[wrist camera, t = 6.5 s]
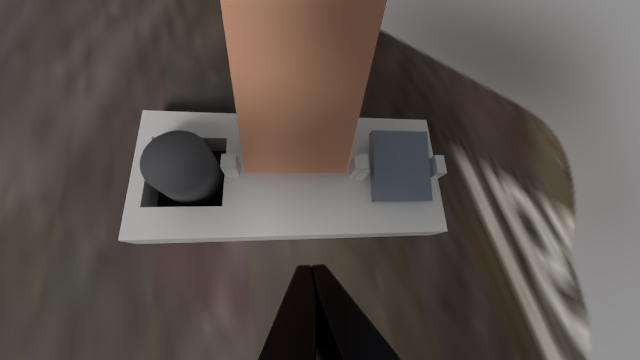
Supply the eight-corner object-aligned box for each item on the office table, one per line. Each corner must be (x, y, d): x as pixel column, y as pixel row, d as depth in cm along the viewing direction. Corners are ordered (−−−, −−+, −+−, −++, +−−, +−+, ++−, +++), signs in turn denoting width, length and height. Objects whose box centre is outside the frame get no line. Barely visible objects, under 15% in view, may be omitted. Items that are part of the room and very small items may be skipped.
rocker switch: (425, 201, 17) (432, 200, 16) (371, 202, 17) (376, 201, 16) (420, 135, 18) (427, 131, 17) (368, 134, 17) (372, 130, 17)
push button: (220, 205, 17) (208, 191, 14) (159, 205, 16) (134, 192, 14) (224, 153, 18) (213, 131, 15) (167, 152, 18) (145, 129, 15)
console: (431, 235, 19) (464, 227, 15) (137, 244, 16) (98, 237, 13) (413, 133, 21) (438, 107, 18) (156, 126, 19) (129, 94, 15)
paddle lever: (345, 172, 16) (399, -54, 9) (244, 172, 16) (209, -78, 8) (342, 159, 17) (389, -58, 10) (246, 158, 16) (216, -80, 9)
